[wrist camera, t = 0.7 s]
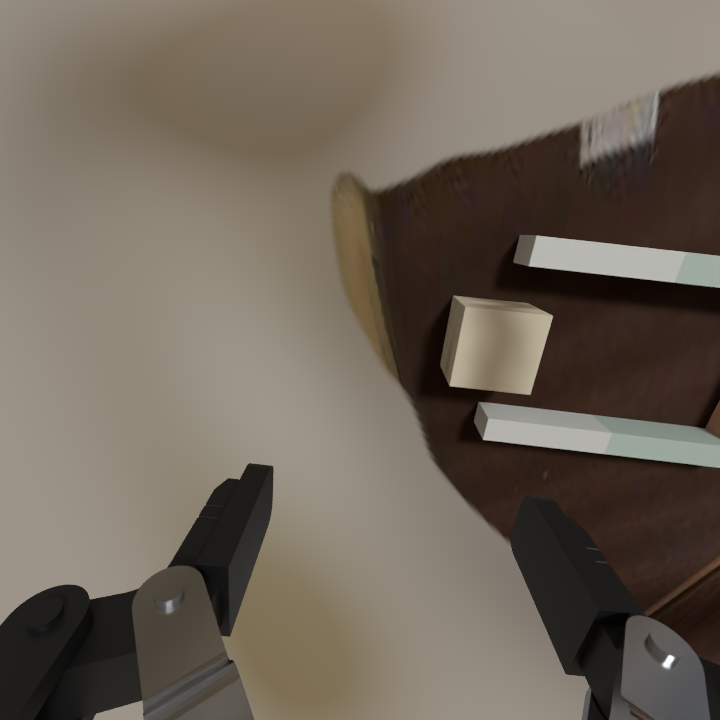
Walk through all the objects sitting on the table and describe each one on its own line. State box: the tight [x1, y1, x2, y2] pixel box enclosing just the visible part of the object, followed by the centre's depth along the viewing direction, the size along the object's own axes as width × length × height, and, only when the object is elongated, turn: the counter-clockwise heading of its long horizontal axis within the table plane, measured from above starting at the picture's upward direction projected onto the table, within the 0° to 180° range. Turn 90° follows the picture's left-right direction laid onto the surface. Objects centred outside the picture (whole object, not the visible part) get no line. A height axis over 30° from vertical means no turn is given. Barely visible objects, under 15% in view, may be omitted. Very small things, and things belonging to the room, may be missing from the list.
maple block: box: [440, 296, 553, 395], centre depth 27 cm, size 6×6×4 cm
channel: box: [474, 235, 720, 468], centre depth 28 cm, size 22×16×3 cm
